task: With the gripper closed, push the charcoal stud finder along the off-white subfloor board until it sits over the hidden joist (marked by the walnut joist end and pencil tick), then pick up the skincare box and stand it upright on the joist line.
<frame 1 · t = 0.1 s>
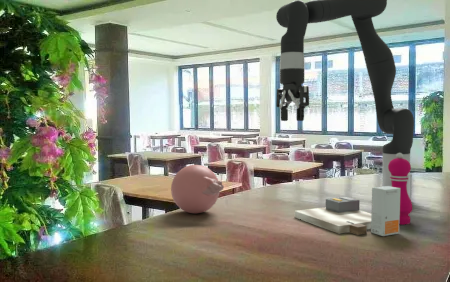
hand: (292, 120, 130), 29 cm above the table, tool pointing down, fingers open, 8 cm apart
pepper mill: (398, 222, 121), on the table
skincare box: (385, 234, 109), on the table
stud finder: (342, 204, 128), point 4 cm above the table, slide at 0.0 cm
subfloor board: (340, 221, 122), on the table
balloon: (200, 214, 132), on the table
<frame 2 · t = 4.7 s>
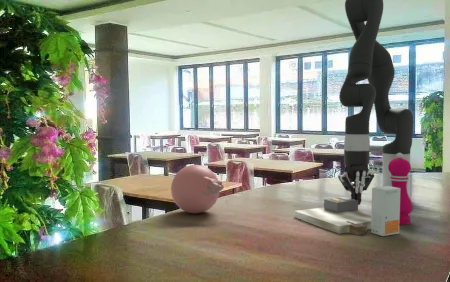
hand: (356, 204, 130), 3 cm above the table, tool pointing down, fingers closed
stud finder: (340, 204, 128), point 4 cm above the table, slide at 0.6 cm, touching gripper
everything else where it was.
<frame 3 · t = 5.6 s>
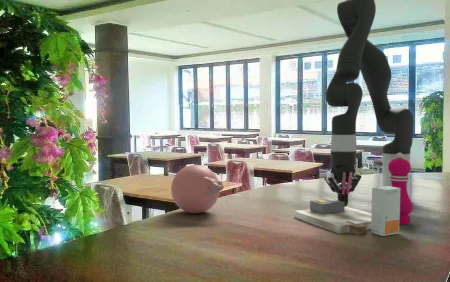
hand: (342, 206, 128), 3 cm above the table, tool pointing down, fingers closed
stud finder: (327, 205, 125), point 4 cm above the table, slide at 5.8 cm, touching gripper
everything else where it was.
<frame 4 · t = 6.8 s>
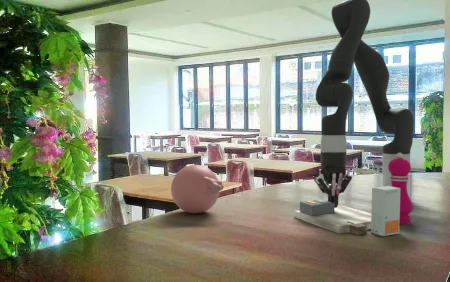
hand: (332, 207, 126), 3 cm above the table, tool pointing down, fingers closed
stud finder: (317, 206, 124), point 4 cm above the table, slide at 9.5 cm, touching gripper
everything else where it was.
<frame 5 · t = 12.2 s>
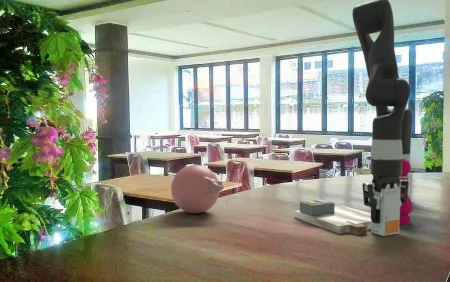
hand: (385, 221, 109), 3 cm above the table, tool pointing down, fingers closed on skincare box, 6 cm apart
skincare box: (385, 234, 109), on the table, touching gripper
stud finder: (317, 206, 124), point 4 cm above the table, slide at 9.5 cm
everything else where it was.
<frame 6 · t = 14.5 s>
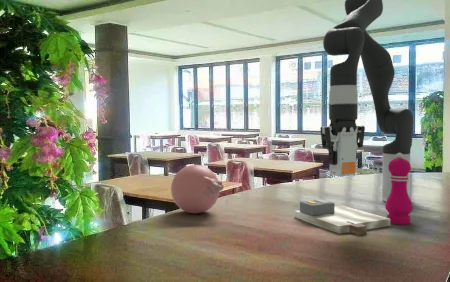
hand: (342, 163, 115), 17 cm above the table, tool pointing down, fingers closed on skincare box, 6 cm apart
skincare box: (342, 175, 115), point 14 cm above the table, touching gripper
everything else where it was.
when the fingers open (6 cm above the table, at t = 17.3 s): skincare box drops 1 cm, resting on subfloor board.
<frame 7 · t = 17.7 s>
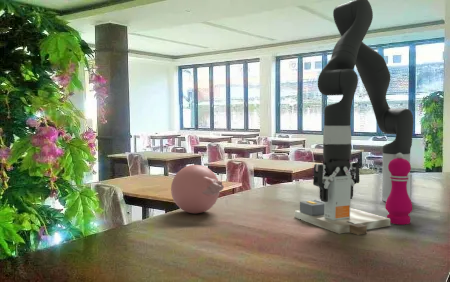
hand: (336, 200, 117), 7 cm above the table, tool pointing down, fingers open, 8 cm apart
skincare box: (337, 218, 117), point 2 cm above the table, touching subfloor board
everything else where it was.
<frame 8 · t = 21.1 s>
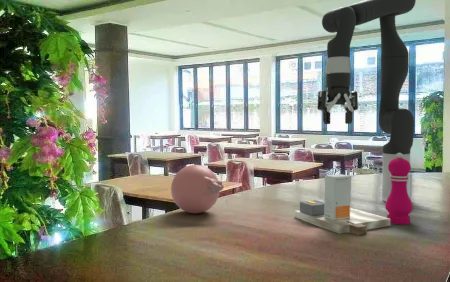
hand: (337, 123, 133), 28 cm above the table, tool pointing down, fingers open, 8 cm apart
nothing on the table moved.
at the end: stud finder slide at 9.5 cm; skincare box 0.4 cm from the target spot, point 1.8 cm above the table; skincare box tilted 0° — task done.
